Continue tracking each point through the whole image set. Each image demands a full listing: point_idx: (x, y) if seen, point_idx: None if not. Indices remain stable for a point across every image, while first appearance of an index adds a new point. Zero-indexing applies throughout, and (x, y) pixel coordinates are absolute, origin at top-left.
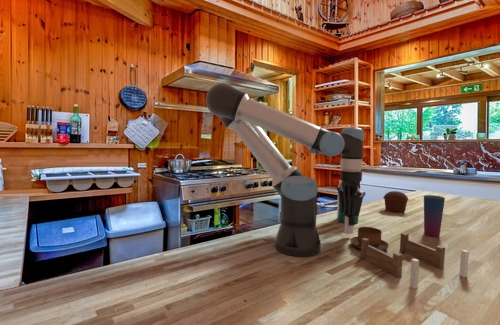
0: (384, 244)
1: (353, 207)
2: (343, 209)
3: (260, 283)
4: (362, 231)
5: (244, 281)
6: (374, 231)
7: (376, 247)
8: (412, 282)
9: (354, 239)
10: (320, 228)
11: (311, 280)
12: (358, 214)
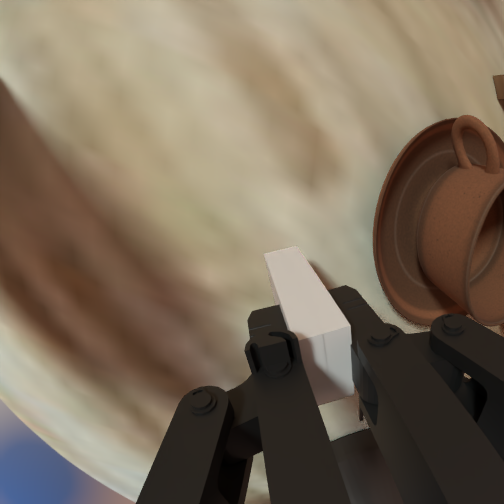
0: (472, 134)
1: (496, 450)
2: (237, 458)
3: None
4: (448, 257)
5: None
6: (488, 180)
7: (492, 212)
8: None
9: (385, 276)
10: (95, 364)
11: None
12: (471, 330)
